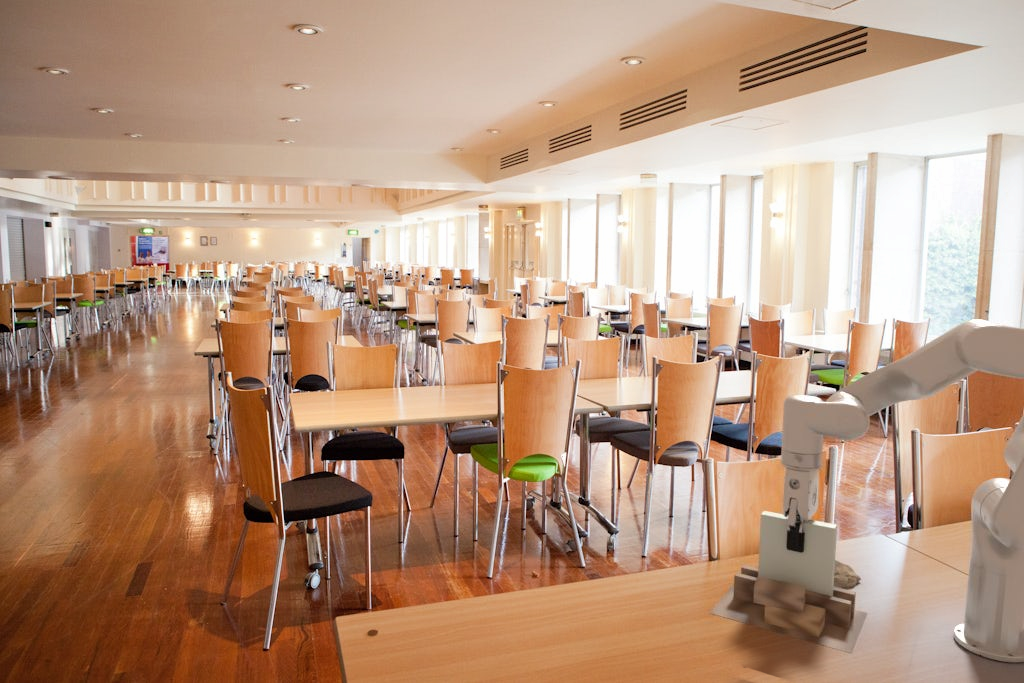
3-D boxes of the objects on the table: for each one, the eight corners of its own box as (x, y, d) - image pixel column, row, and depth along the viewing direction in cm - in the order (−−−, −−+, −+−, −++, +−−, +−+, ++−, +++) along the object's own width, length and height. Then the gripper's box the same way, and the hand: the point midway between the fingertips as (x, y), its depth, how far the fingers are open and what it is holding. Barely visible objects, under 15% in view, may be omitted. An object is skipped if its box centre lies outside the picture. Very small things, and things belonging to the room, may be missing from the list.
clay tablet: (795, 606, 155) (869, 590, 162) (796, 583, 155) (870, 568, 162) (751, 579, 168) (822, 565, 175) (752, 558, 168) (822, 545, 175)
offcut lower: (824, 626, 143) (825, 608, 143) (818, 637, 139) (819, 619, 139) (771, 611, 149) (772, 595, 149) (764, 622, 145) (765, 605, 144)
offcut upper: (804, 602, 145) (805, 585, 145) (802, 612, 141) (803, 595, 141) (756, 593, 149) (757, 576, 149) (753, 602, 145) (754, 585, 145)
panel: (832, 612, 148) (837, 524, 146) (829, 617, 146) (834, 528, 144) (760, 594, 156) (764, 510, 153) (757, 598, 154) (760, 514, 152)
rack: (867, 620, 149) (869, 589, 148) (850, 661, 134) (853, 626, 133) (736, 586, 163) (738, 558, 162) (709, 620, 148) (710, 589, 148)
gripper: (812, 471, 138) (807, 566, 141) (830, 452, 152) (825, 539, 154) (770, 465, 143) (766, 557, 145) (791, 446, 156) (787, 531, 158)
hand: (796, 547), depth 149 cm, fingers closed on panel, 2 cm apart
